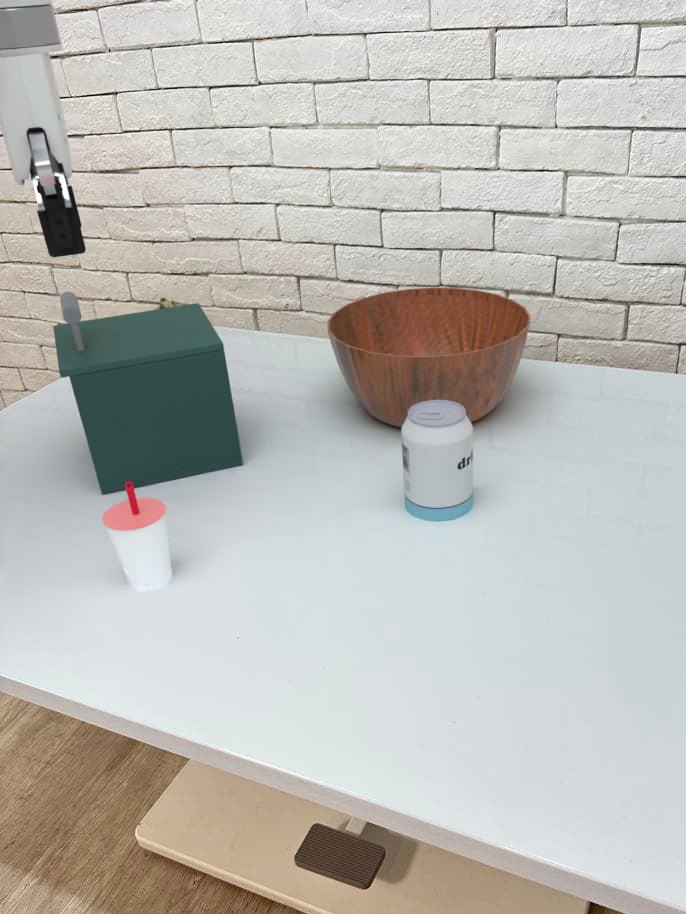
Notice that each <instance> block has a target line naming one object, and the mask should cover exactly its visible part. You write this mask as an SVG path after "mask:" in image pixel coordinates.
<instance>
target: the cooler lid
mask: <svg viewBox="0 0 686 914" xmlns="http://www.w3.org/2000/svg"><path fill="white" fill-rule="evenodd" d="M59 302H60V307H61V314H62V319H63V321H64V322H66V323H62V324H56V325H53V326H52V328H53V336H54V342H55V351H56V359H57V365H58V372H59V376H60V378H67V377H69V376H75V375H81V374H86V373H92V372H98V371H104V370H109V369H115V368H121V367H127V366H132V365H138V364H144V363H150V362H155V361H161V360H167V359H173V358H179V357H184V356H190V355H196V354H202V353H207V352H213V351H219V350H224V351H225V346H224V342H223V341H222V339H221V337H220V336H219V334H218V333H217V331H216V329H215V328H214V325H213V324H212V323H211V321H210V319H209V318H208V316H207V315H206V313H205V311H204V310H203V308H202V306H201V304H200V303H199V302H196V303H190V304H184V305H183V306H176V307H170V308H163V309H157V310H154V309H151V310H145V311H140V312H133V313H126V314H125V313H124V314H120V315H114V316H107V317H99V318H93V319H88V320H82V313H81V308H80V303H79V300H78V296H77V295H76V293H74V292H72V291H65V292H63V293H62V294H61V295H60V296H59ZM69 378H70V377H69Z"/></svg>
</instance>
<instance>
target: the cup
mask: <svg viewBox="0 0 686 914" xmlns="http://www.w3.org/2000/svg"><path fill="white" fill-rule="evenodd" d="M125 487H126V490H125V491H126V495H127V498H128V499H126V500H123V501H120V502H118V503H115V504H113V505H112V506H111V507H110V508H108V509H107V510H106V511H105V512H104V514H103V515H102V520H101V521H102V523H103V525H104V526H105V527H106V529H107V531H108V535H109V536H110V539H111V542H112V544H113V547H114V550H115V551H116V554H117V557H118V559H119V561H120V565H121V566H122V568H123V571H124V574H125V576H126V578H127V581H128V583H129V586H130V587H131V588H132V589H133V590H134V591H137V592H142V593H143V592H144V593H145V592H146V593H147V592H154V591H158V590H161V589H162V588H164V587H167V585H168V584H169V583H171V581H172V579H173V569H172V560H171V551H170V543H169V535H168V527H167V526H168V525H167V518H166V517H167V516H166V511H167V507H166V504H165V503H164V502H163V501H161V500H160V499H157V498H154V497H153V498H152V497H137V496H136V492H135V488H133V484H132V483H131V482H126V484H125Z"/></svg>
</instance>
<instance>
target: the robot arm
mask: <svg viewBox="0 0 686 914" xmlns="http://www.w3.org/2000/svg"><path fill="white" fill-rule="evenodd" d="M62 43H63V42H62V39H61V35H60V31H59V27H58V21H57V18H56V13H55V9H54V6H53V1H52V0H0V130H1V133H2V137H3V140H4V144H5V148H6V151H7V156H8V159H9V163H10V167H11V171H12V174H13V178H14V182H15V183H16V184H17V185H19V186H25V182H26V180H30V181H31V183H32V188H33V191H34V195H35V199H36V204H37V207H38V210H36V213H37V216H38V220H39V224H40V227H41V231H42V235H43V237H44V241H45V245H46V249H47V253H48V255H49V256H50V257H51V258H61V257H66V256H74V255H80V254H85V252H86V251H87V250H86V245H85V240H84V236H83V232H82V222H81V218H80V213H79V209H78V205H77V201H76V198H75V193H74V189H73V186H72V185H69V180H70V179H71V177H72V176H73V168H72V158H71V151H70V143H69V136H68V131H67V125H66V120H65V115H64V111H63V106H62V102H61V98H60V94H59V93H60V92H59V88H58V85H57V80H56V76H55V71H54V68H53V63H52V60H51V54H50V53H55V52H59V51H63V50H64V47H63V44H62Z"/></svg>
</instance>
